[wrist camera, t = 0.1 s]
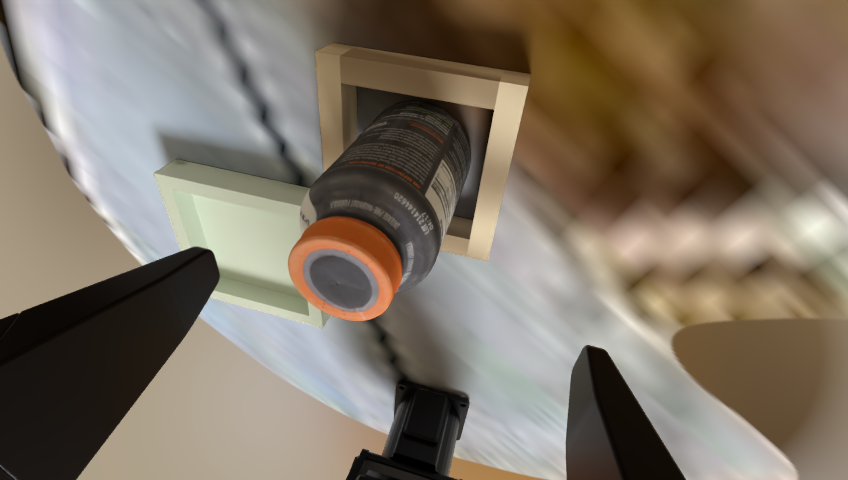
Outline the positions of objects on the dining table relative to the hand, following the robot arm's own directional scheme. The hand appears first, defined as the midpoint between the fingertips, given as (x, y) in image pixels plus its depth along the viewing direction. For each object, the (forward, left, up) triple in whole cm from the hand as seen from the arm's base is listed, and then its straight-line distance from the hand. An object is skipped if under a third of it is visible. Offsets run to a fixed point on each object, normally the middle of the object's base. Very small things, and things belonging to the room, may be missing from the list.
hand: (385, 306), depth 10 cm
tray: (-13, +14, -14) cm, 24 cm away
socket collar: (-3, +3, -14) cm, 15 cm away
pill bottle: (-3, +3, -15) cm, 15 cm away
